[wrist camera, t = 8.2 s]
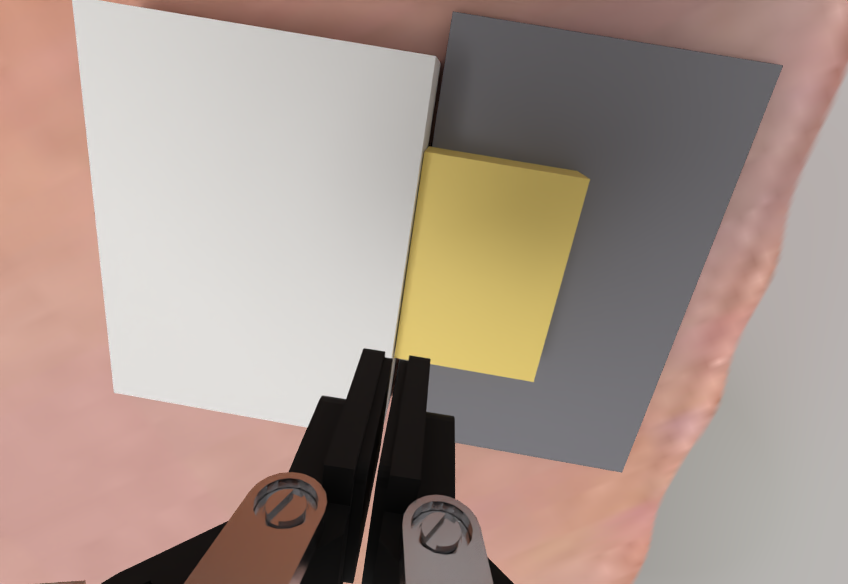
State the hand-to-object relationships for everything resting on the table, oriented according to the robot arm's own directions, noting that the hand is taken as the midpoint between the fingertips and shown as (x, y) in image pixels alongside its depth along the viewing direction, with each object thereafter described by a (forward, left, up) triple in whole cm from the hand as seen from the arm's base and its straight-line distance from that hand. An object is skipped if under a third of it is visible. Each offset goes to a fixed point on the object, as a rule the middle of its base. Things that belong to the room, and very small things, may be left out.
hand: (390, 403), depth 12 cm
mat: (+1, +6, -14) cm, 15 cm away
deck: (+1, -8, -14) cm, 16 cm away
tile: (0, +3, -13) cm, 14 cm away
